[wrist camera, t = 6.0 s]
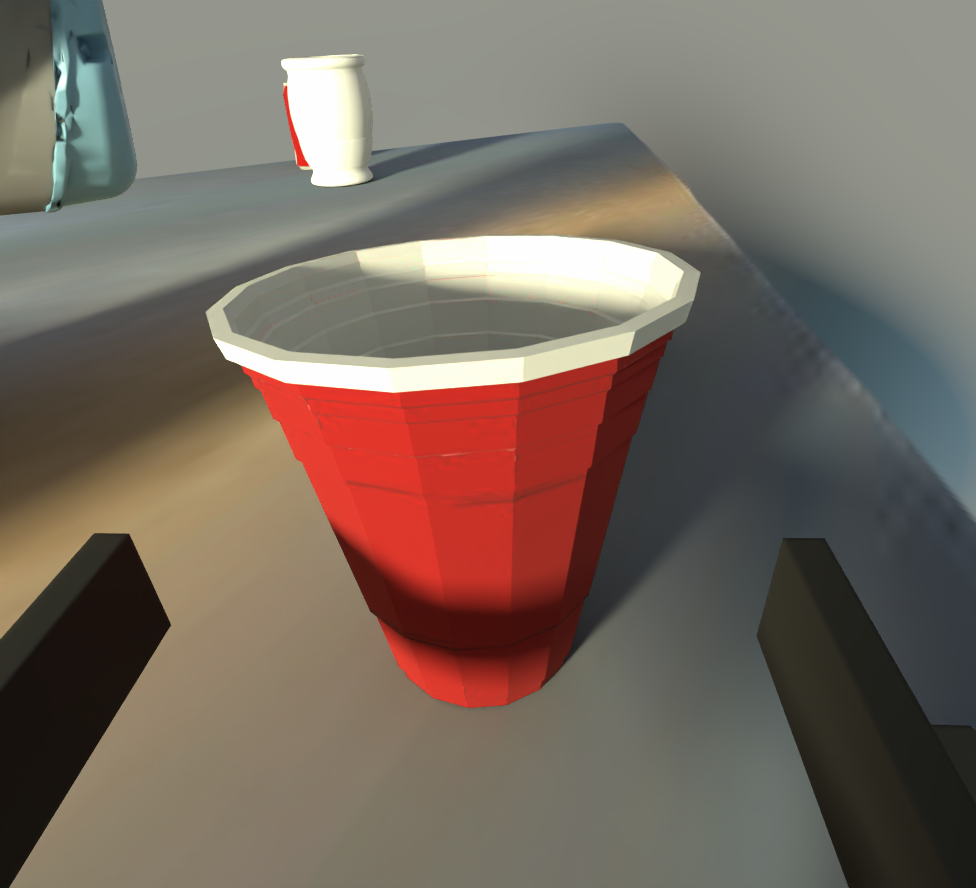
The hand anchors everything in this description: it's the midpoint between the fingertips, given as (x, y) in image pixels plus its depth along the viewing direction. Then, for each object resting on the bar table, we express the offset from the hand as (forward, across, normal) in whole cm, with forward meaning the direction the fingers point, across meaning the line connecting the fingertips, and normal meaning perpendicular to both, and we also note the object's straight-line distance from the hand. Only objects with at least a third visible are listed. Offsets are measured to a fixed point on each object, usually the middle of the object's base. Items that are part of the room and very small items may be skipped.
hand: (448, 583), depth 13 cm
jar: (+84, -25, -7) cm, 88 cm away
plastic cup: (+5, 0, -7) cm, 8 cm away
